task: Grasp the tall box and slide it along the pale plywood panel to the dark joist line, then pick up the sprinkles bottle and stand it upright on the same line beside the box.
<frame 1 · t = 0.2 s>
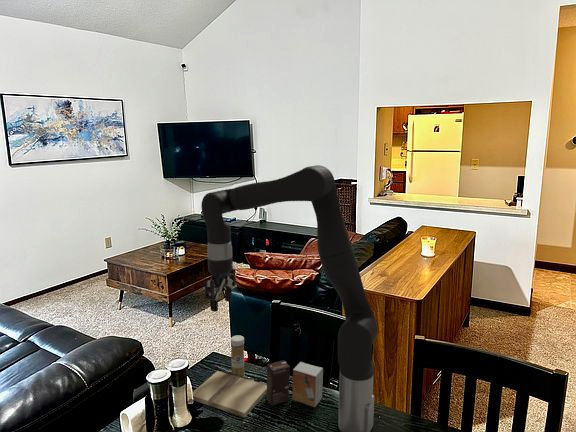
hand: (221, 305, 132), 28 cm above the table, fingers open, 8 cm apart
plywood panel: (230, 394, 133), on the table
sprinkles bottle: (238, 374, 145), on the table
small box: (307, 399, 131), on the table
box: (278, 400, 131), on the table
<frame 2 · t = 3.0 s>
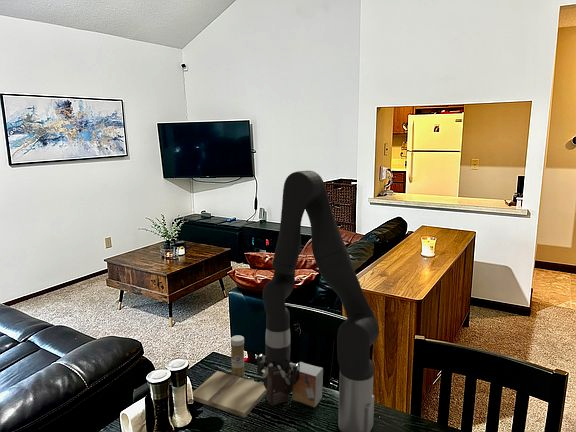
hand: (277, 390, 130), 3 cm above the table, fingers closed on box, 6 cm apart
box: (278, 400, 131), on the table, touching gripper
everything else where it was.
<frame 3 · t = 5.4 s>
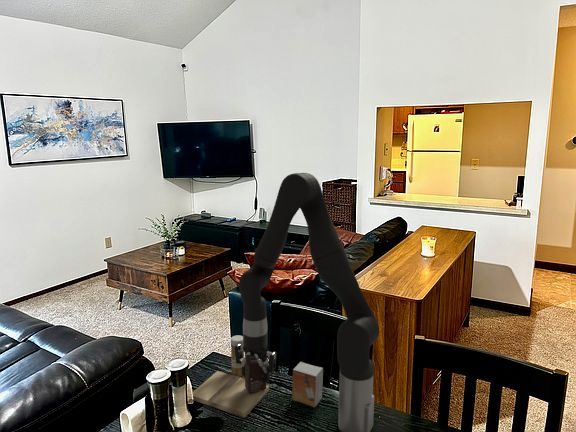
hand: (255, 378, 133), 5 cm above the table, fingers closed on box, 6 cm apart
box: (256, 389, 133), point 2 cm above the table, touching gripper
everything else where it was.
when the fingers open (5 cm above the table, at t = 7.9 s): box stays where it is, resting on plywood panel.
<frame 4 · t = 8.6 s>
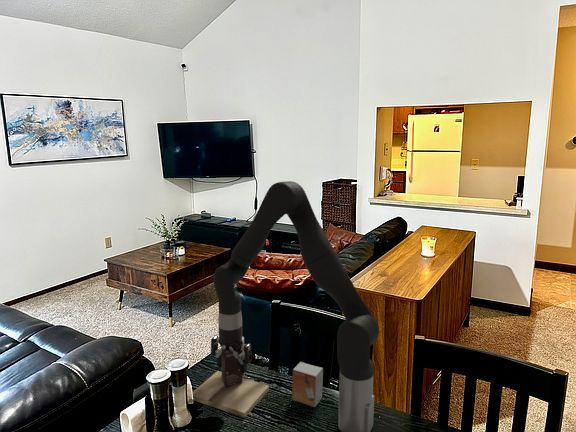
hand: (231, 370, 137), 6 cm above the table, fingers open, 8 cm apart
box: (232, 382, 137), point 1 cm above the table, touching plywood panel
everything else where it was.
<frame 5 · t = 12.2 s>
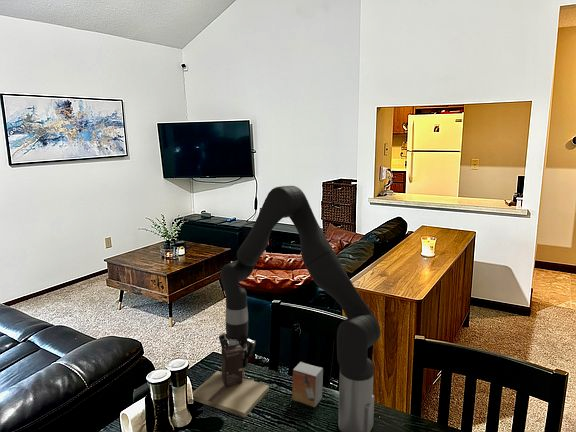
hand: (237, 365, 144), 3 cm above the table, fingers closed on sprinkles bottle, 4 cm apart
sprinkles bottle: (238, 374, 145), on the table, touching gripper
everything else where it was.
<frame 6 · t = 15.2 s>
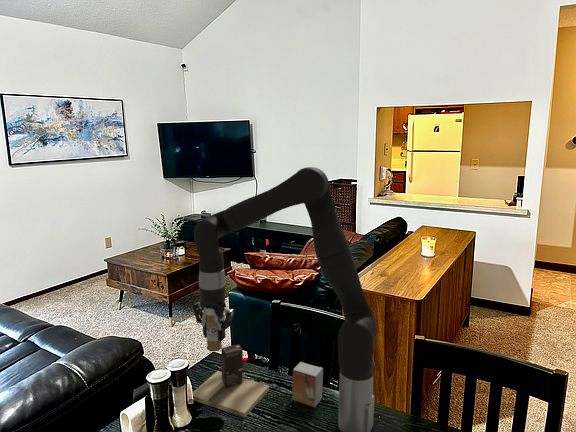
hand: (214, 338, 126), 21 cm above the table, fingers closed on sprinkles bottle, 4 cm apart
sprinkles bottle: (214, 349, 126), point 18 cm above the table, touching gripper
everything else where it was.
when the fingers open (6 cm above the table, at t = 18.2 s): sprinkles bottle stays where it is, resting on plywood panel.
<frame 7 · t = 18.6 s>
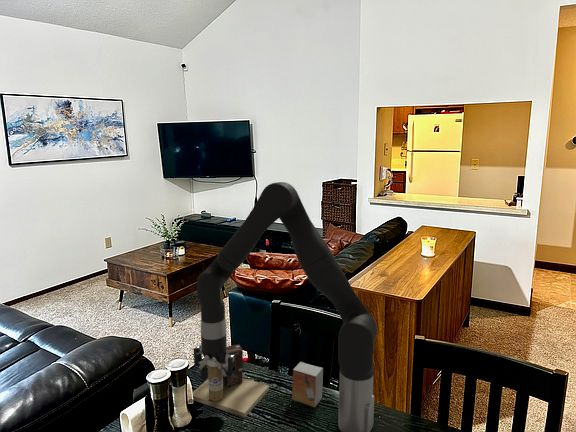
hand: (215, 382, 128), 7 cm above the table, fingers open, 7 cm apart
sprinkles bottle: (216, 397, 129), point 1 cm above the table, touching plywood panel
everything else where it was.
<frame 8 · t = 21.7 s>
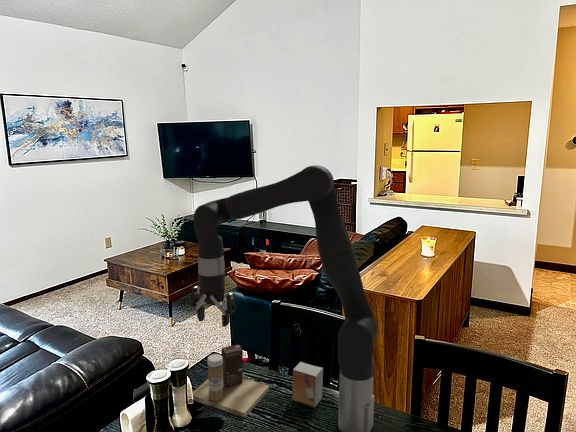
hand: (213, 322, 125), 26 cm above the table, fingers open, 8 cm apart
nothing on the table moved.
at the end: box inside the target area (0.5 cm from its centre), point 1.4 cm above the table; sprinkles bottle inside the target area (0.5 cm from its centre), point 1.4 cm above the table; sprinkles bottle tilted 0° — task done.
